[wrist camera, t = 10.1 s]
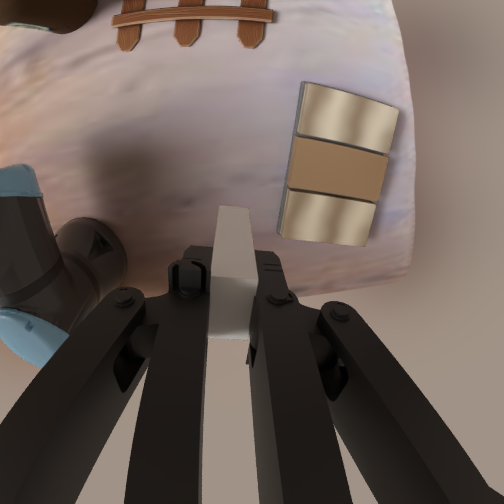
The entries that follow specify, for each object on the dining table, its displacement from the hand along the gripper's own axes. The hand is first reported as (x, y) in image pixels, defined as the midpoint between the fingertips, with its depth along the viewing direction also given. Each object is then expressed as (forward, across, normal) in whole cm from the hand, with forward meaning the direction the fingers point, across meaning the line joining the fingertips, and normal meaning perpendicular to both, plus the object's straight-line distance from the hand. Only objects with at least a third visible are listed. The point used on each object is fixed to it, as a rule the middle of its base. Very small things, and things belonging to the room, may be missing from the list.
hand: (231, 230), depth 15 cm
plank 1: (+25, +15, +8) cm, 30 cm away
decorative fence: (+27, -9, +23) cm, 37 cm away
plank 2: (+25, +15, -7) cm, 30 cm away
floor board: (+26, +15, 0) cm, 30 cm away
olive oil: (+27, -29, +25) cm, 47 cm away
